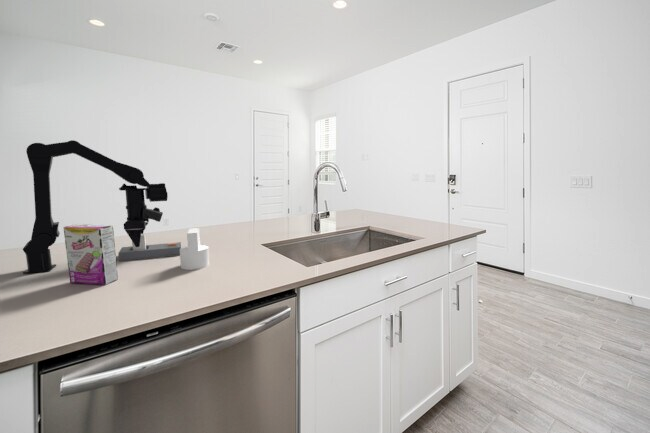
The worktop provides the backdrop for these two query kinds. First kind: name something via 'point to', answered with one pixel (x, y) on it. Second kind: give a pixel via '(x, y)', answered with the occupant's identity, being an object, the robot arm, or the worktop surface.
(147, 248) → the grey board with hole
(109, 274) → the candy bar box
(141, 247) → the plug block
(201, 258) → the cylinder with rectangular tab
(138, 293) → the worktop surface
